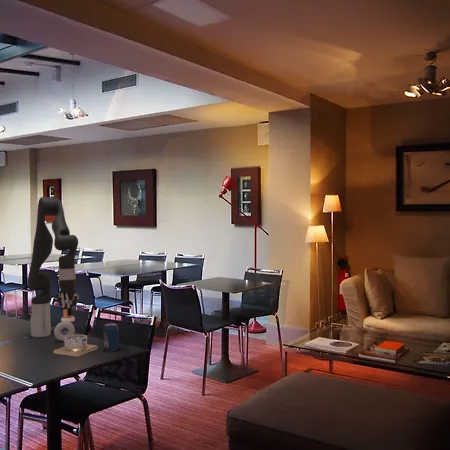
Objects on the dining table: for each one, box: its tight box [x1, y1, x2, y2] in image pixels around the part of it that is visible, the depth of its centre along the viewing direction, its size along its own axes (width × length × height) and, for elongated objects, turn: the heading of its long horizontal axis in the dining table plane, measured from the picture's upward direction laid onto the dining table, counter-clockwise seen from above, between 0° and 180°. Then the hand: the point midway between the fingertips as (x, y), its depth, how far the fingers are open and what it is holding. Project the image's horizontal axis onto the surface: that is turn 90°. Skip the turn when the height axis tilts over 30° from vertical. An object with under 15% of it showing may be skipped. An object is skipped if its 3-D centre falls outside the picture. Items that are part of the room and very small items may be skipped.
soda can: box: [102, 322, 120, 352], centre depth 240 cm, size 7×7×12 cm
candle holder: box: [53, 334, 99, 358], centre depth 238 cm, size 14×14×6 cm
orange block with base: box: [60, 309, 76, 323], centre depth 236 cm, size 6×6×6 cm
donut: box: [53, 322, 76, 342], centre depth 257 cm, size 10×4×10 cm, turn 113°
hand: (68, 315), depth 236 cm, fingers closed on orange block with base, 1 cm apart
